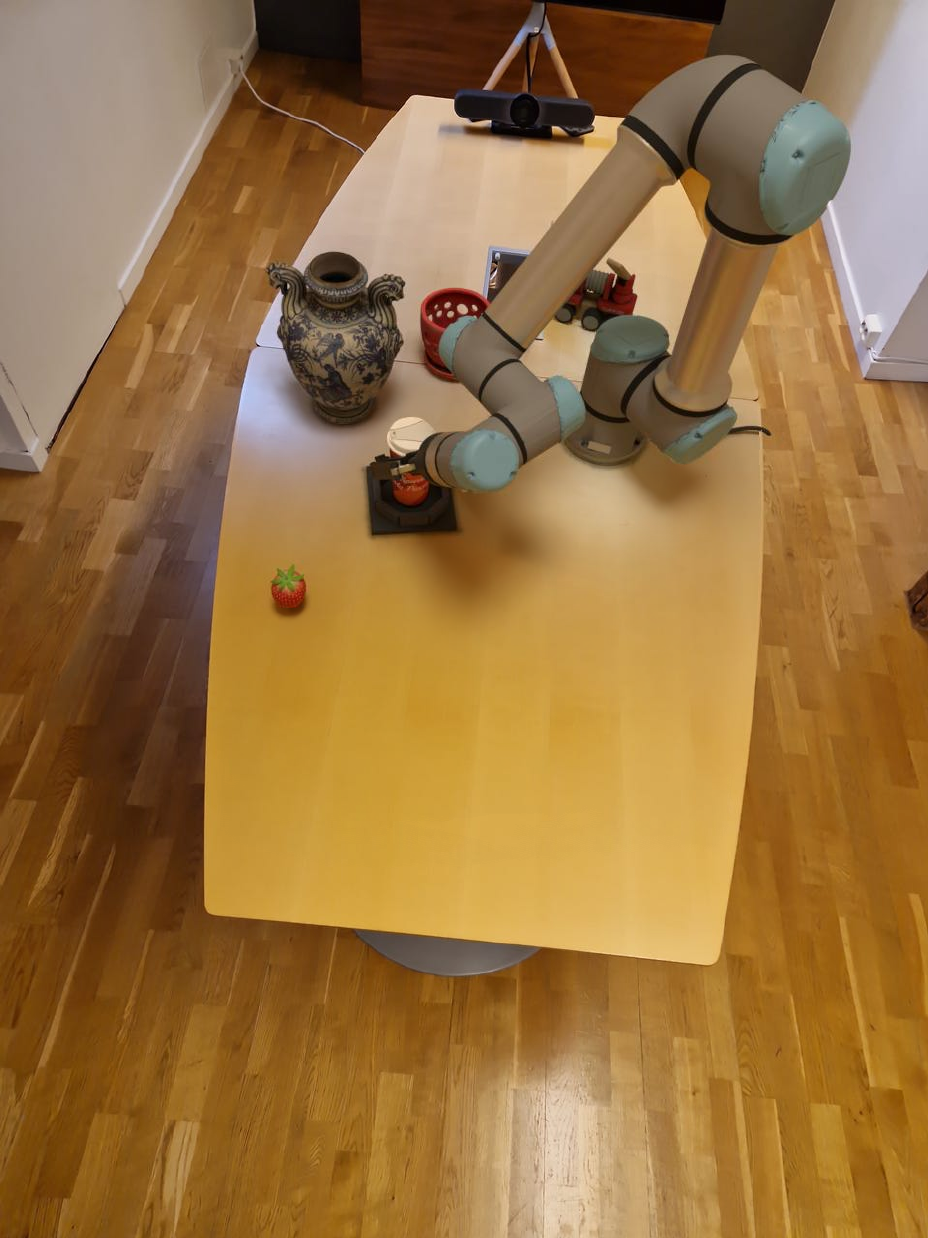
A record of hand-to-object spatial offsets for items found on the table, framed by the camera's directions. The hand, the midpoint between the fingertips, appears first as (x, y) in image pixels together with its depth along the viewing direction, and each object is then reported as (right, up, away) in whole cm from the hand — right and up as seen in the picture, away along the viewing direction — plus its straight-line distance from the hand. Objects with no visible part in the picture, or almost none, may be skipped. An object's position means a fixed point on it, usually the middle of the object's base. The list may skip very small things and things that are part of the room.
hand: (403, 457), depth 132 cm
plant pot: (+8, +23, +23) cm, 33 cm away
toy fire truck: (+35, +33, +31) cm, 57 cm away
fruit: (-17, -24, -7) cm, 30 cm away
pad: (+1, -6, +5) cm, 8 cm away
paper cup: (+1, -5, +3) cm, 6 cm away
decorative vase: (-12, +13, +15) cm, 23 cm away
